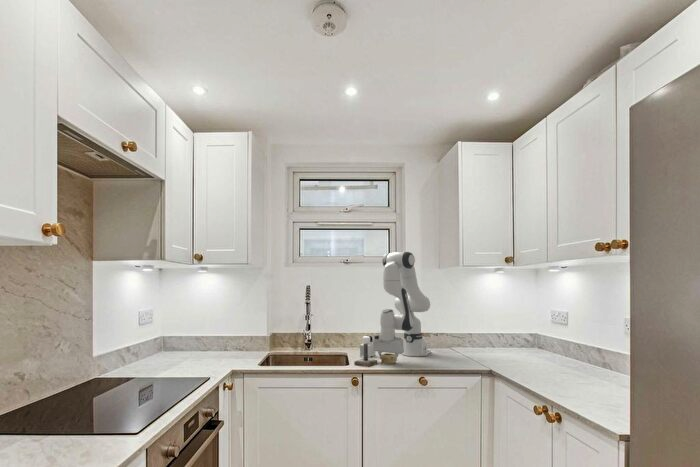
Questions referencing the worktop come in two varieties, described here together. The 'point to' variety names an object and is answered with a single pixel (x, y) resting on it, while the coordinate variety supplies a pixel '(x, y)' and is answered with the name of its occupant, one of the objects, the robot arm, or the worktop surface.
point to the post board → (365, 358)
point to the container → (370, 346)
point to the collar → (388, 358)
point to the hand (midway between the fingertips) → (388, 359)
